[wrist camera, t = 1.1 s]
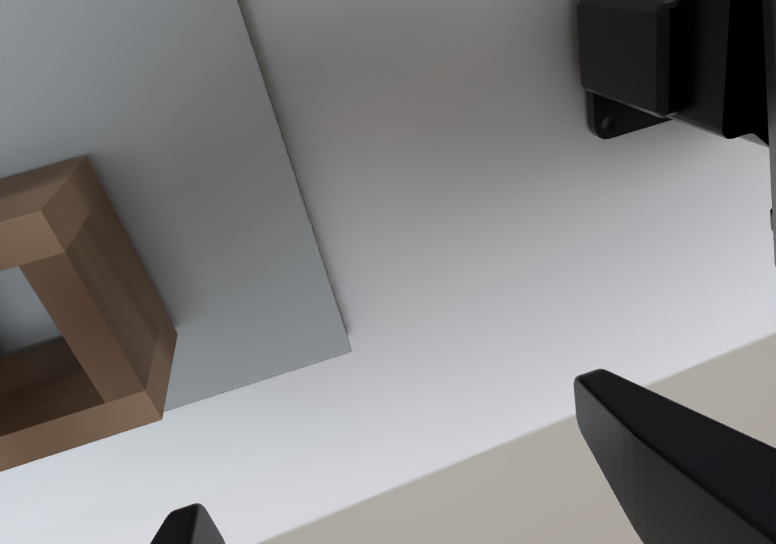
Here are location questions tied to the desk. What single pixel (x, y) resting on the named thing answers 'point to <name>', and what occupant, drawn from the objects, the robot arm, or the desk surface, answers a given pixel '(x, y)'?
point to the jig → (171, 179)
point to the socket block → (78, 318)
